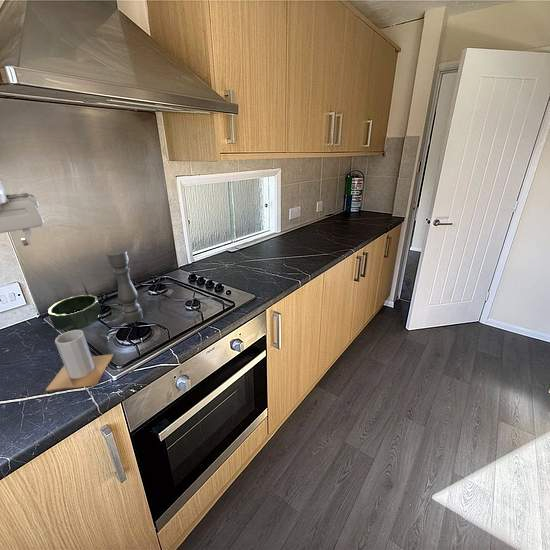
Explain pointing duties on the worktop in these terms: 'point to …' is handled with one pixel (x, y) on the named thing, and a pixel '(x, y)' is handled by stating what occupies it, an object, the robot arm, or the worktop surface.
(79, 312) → the bowl
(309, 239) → the worktop surface
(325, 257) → the worktop surface
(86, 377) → the mat
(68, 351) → the cup
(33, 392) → the worktop surface
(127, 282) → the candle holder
